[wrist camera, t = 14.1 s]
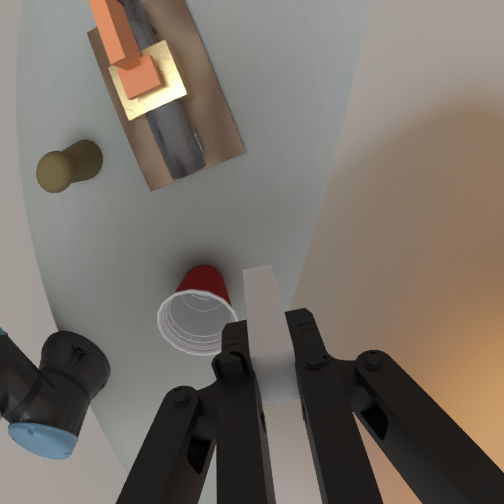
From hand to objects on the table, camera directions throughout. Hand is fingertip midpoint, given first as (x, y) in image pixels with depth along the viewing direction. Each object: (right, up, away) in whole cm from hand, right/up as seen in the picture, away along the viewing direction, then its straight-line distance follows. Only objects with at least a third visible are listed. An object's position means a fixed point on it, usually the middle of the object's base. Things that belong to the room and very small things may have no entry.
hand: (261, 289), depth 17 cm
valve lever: (-14, +26, +10) cm, 31 cm away
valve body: (-12, +24, +20) cm, 34 cm away
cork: (-25, +16, +25) cm, 39 cm away
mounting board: (-12, +24, +22) cm, 35 cm away
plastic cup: (-8, -3, +34) cm, 35 cm away
